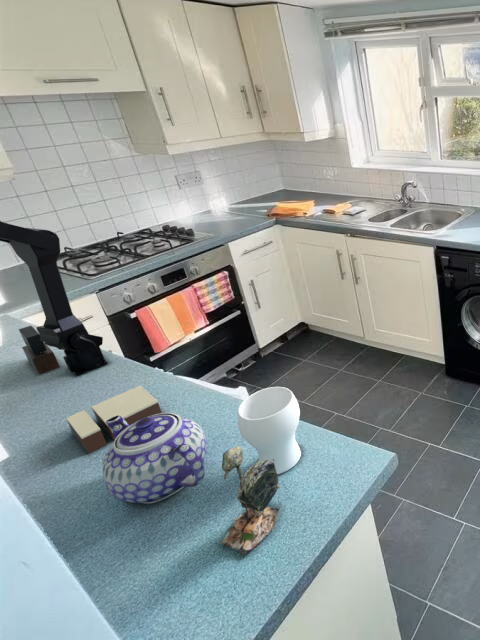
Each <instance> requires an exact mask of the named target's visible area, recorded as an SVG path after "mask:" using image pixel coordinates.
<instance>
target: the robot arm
mask: <svg viewBox="0 0 480 640" xmlns="http://www.w3.org/2000/svg"><path fill="white" fill-rule="evenodd" d="M0 242H2V243H6V244H9V245H10V246H11V248H12V249H13V251H14V252H15V255H17V257H18V258H20V260H21V261H23V263H25V264H26V265H27V267H28V269H29V273H30V275H31V278H32V282H33V285H34V287H35V290H36V293H37V296H38V299H39V302H40V304H41V308H42V311H43V314H44V317H45V319H44V323H43V325H39V326H37V327H36V331H37V332H38V333H39V334H40V341H42V342H44V343H45V344H46V345H47V346H48V347H52V348H56V349H58V350H62V351H63V353H64V356H63V357H62V358H63V360H64V363H65V366H66V367H67V369H68V371H69V372H70V373H74V374H75V376H81V375H84V374H86V373H89V372H91V371H94V370H96V369H99V368H102V367H104V366H107V365H108V364H109V362H108V360H106V359H105V357H104V354H103V352H102V349H101V346H102V345H103V343H104V342H103V341H104V337H103V336H99V335H96V334H95V335H94V334H90V333H89V332H88V330H87V329H86V326H85V325H84V323H83V322H82V321H81V320H79V318H78V317H76V316H75V314H74V313H73V310H72V307H71V303H70V301H69V298H68V294H67V292H66V288H65V285H64V282H63V279H62V278H63V277H62V275H61V273H60V270H59V266H58V259H59V257H60V254H61V242H60V238H59V236H58V234H57V233H56V232H54V231H51V230H50V229H49V230H48V229H42V228H33V227H23V226H19V225H14V224H11V223H7V222H4V221H2V220H0Z"/></svg>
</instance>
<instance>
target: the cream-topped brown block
mask: <svg viewBox="0 0 480 640" xmlns="http://www.w3.org/2000/svg"><path fill="white" fill-rule="evenodd" d="M65 419H66V421H67V424H68V426H69V429H70V430H71V432H72V434H73V436H74V437H75V438H76V439H77V441H78V442H79V443H80V444H81V446H82V447H83V449H84V450H85V451H86V452H87V454H92V453H93V452H95V451H97V450H99V449H101V448H103V447H105V446H107V445H108V443H107V441H106V439H105V437H104V434H103V432H102V430H101V428H100V427H99V425H98V424H97V423H96V422H95V421H94V420H93V418H92V417H91V416H90V415H89V414H88V413H87V412H86V410H85V409H82V410H81V411H78V412H77V413H74V414H72V415H70V416H67V417H66V418H65Z"/></svg>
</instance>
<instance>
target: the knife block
mask: <svg viewBox="0 0 480 640" xmlns="http://www.w3.org/2000/svg"><path fill="white" fill-rule="evenodd" d="M43 343H44V345H45V347H46V349H47V350H46V351H43V352H41V353H42V354H41V355H39V354H38V353H37V354H33V352H32V351H31V350H30V349H29V348H28V346H27V345H24V346H22V347H21V349H22V351H23V353H24V354H25V356H26V359H27V360H28V362H29V364H30V365H31V367H32V368H33V369H34V370H35V371H36V372H37V374H38V375H42V374H46V373H49V372H51V371H53V370H56V369H59V368H60V367H61V366H60V364H59V361H58V359H57V357H56V355H55V353H54V351H53V350H52V349H51V348H50V346H48V345H46V344H45V342H43Z"/></svg>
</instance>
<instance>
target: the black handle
mask: <svg viewBox="0 0 480 640" xmlns="http://www.w3.org/2000/svg"><path fill="white" fill-rule="evenodd" d="M18 331H19V333H20V335H21V338H22V339H23V342H24V343H25V346H28V348H29V349H30V350H31V351H32V352H33V354H37V353H38V354H39V355H41V354H42V353H41V352H43V351H46V350H47V349H46V347H45V345H44V343H45V342H44V343H43V342H42V341H40V334H39V332H38V331H37V329H35V327H33V326H32V325H28V326H25V327H21V328H19V329H18Z"/></svg>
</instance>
